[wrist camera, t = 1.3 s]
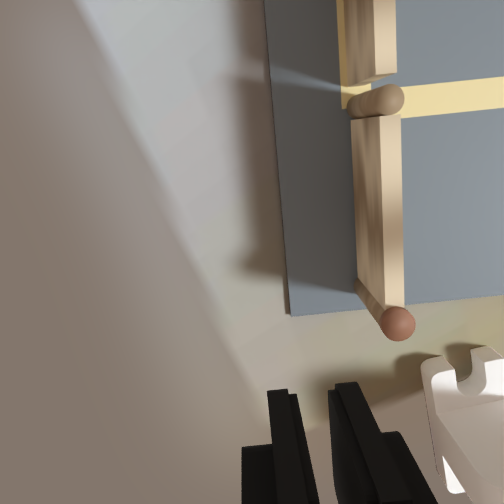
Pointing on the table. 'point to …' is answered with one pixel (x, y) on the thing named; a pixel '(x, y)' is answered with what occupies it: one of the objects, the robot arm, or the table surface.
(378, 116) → the fence swing panel
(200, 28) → the table surface
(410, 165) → the card
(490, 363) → the cable organizer
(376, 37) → the fence fixed section
